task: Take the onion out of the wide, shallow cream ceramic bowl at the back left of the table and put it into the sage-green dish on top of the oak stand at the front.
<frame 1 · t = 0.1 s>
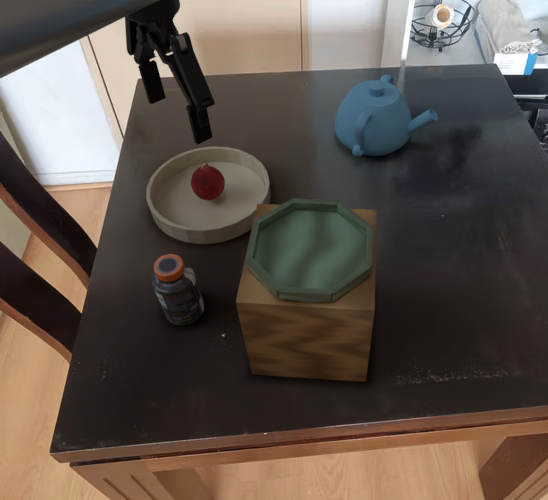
hand: (179, 119, 84), 17 cm above the table, tool pointing down, fingers open, 13 cm apart
teapot: (382, 142, 109), on the table
onion: (211, 199, 98), resting on cream bowl
pill bottle: (185, 310, 82), on the table
cream bowl: (211, 199, 98), on the table
stand: (313, 329, 80), on the table
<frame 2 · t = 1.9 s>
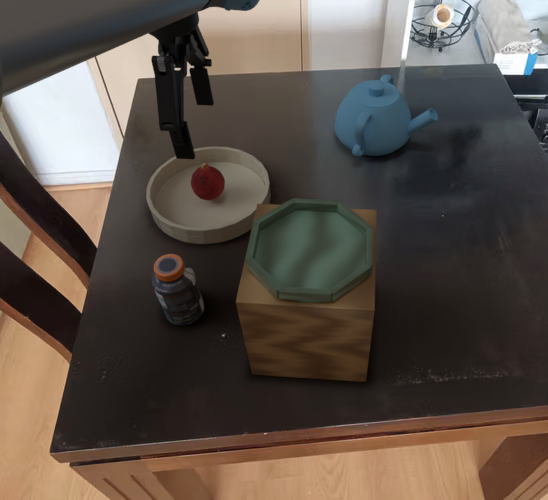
hand: (196, 129, 86), 15 cm above the table, tool pointing down, fingers open, 13 cm apart
nothing on the table moved.
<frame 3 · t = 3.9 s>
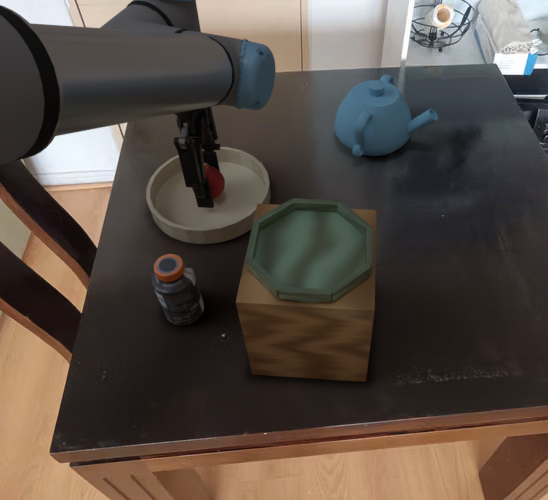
hand: (210, 192, 96), 2 cm above the table, tool pointing down, fingers closed on onion, 6 cm apart
onion: (211, 199, 98), resting on cream bowl, touching gripper
everything else where it was.
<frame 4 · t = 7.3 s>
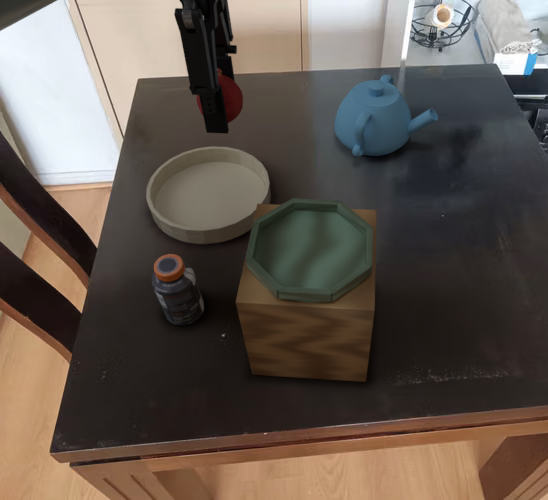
hand: (222, 115, 71), 26 cm above the table, tool pointing down, fingers closed on onion, 6 cm apart
onion: (224, 125, 72), point 25 cm above the table, touching gripper
everything else where it was.
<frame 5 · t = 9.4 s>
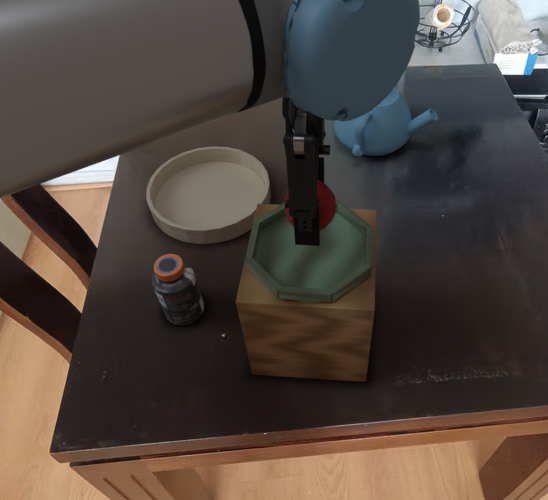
hand: (310, 220, 62), 24 cm above the table, tool pointing down, fingers closed on onion, 6 cm apart
onion: (311, 229, 63), point 22 cm above the table, touching gripper
everything else where it was.
when the fingers open (20 cm above the table, at t = 10.7 s): onion stays where it is, resting on stand.
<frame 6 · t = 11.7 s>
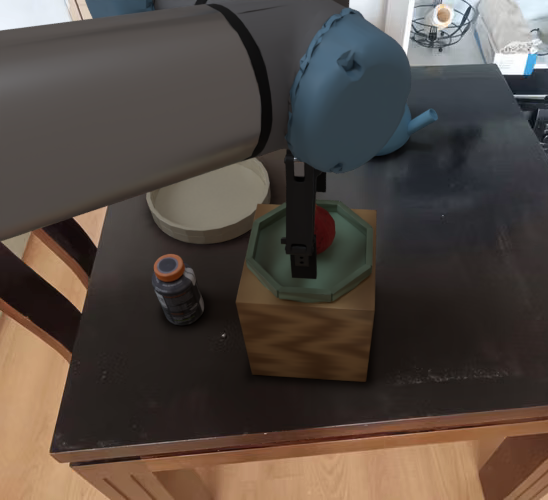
hand: (310, 230, 63), 22 cm above the table, tool pointing down, fingers open, 13 cm apart
onion: (311, 251, 66), point 18 cm above the table, touching stand
everything else where it was.
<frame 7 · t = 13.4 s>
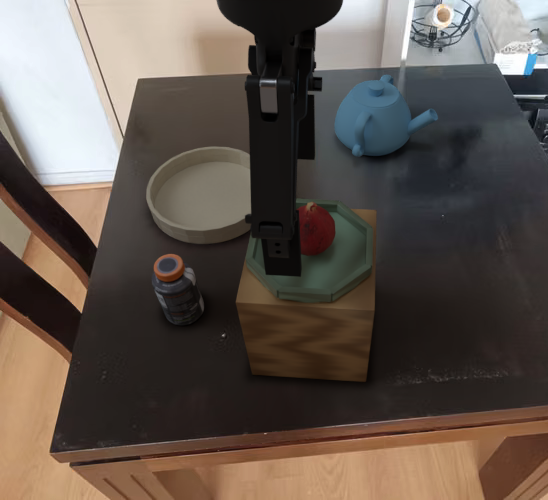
hand: (292, 209, 46), 36 cm above the table, tool pointing down, fingers open, 13 cm apart
nothing on the table moved.
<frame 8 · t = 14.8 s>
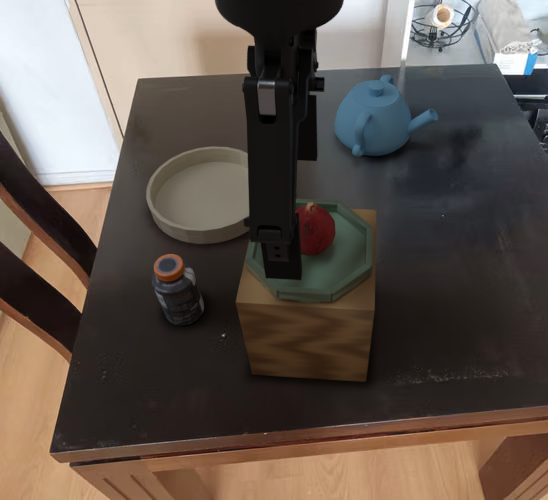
hand: (294, 211, 45), 37 cm above the table, tool pointing down, fingers open, 13 cm apart
nothing on the table moved.
at the end: onion inside the target area on the stand (0.1 cm from its centre), point 18.2 cm above the stand's base; the gripper is holding nothing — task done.
